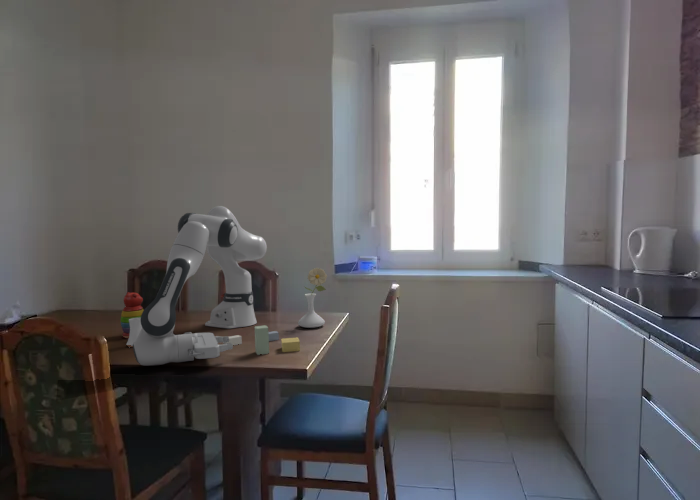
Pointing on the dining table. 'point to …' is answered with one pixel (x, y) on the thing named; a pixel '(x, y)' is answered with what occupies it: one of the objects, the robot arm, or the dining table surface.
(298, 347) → the mustard brick
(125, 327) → the stacking bear
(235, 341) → the cream brick
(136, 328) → the vase
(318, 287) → the flower in vase
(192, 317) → the dining table surface
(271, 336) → the slate brick
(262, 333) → the green brick
